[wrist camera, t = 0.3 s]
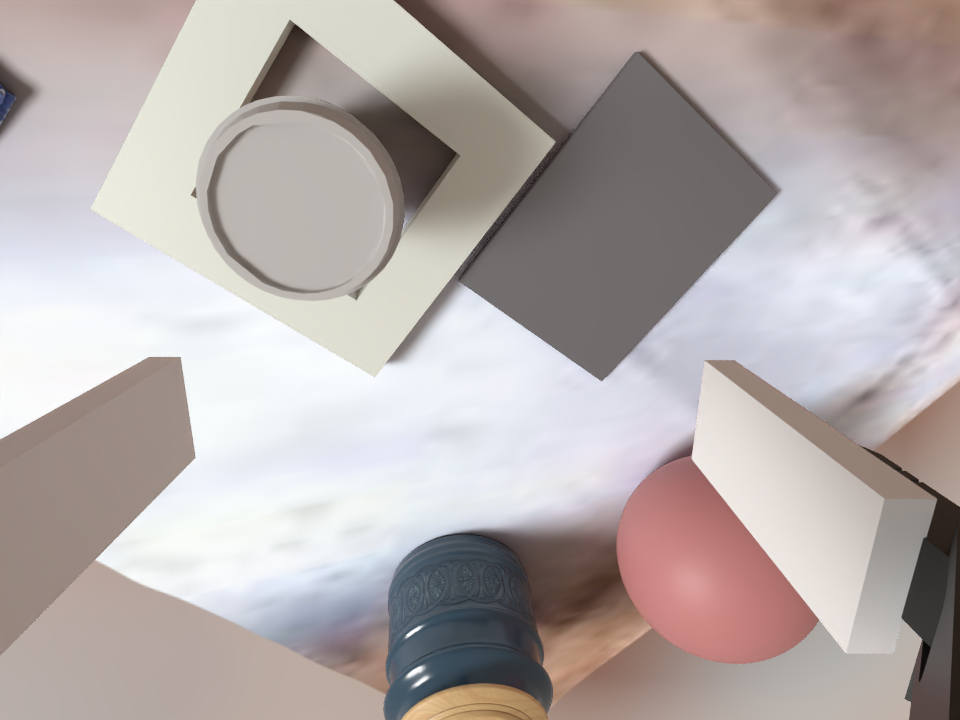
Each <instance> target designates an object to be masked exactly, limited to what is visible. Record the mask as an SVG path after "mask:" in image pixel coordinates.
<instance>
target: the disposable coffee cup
mask: <svg viewBox="0 0 960 720" xmlns="http://www.w3.org/2000/svg"><path fill="white" fill-rule="evenodd" d="M196 196H197V206H198V209H199V213H200V217H201V220H202V223H203V226H204V228H205V231H206V233H207V235H208V237H209V239H210V241H211V243H212V244H213V246H214V248H215V250H216V251H217V253H218V254H219V255H220V256H221V258H222V259H223V260H224V261H225V263H226V264H227V265H228V266H229V267H230V268H231V269H232V270H233V271H234V272H235V273H236V274H237V275H239V276H240V277H242V278H243V279H244V280H246V281H247V282H248V283H250V284H251V285H253V286H255V287H257V288H259V289H261V290H263V291H265V292H268V293H270V294H273V295H276V296H279V297H282V298H288V299H294V300H305V301H318V300H329V299H333V298H337V297H341V296H345V295H347V294H349V293H351V292H354V291H356V290H358V289H360V288H362V287H363V286H365V285H366V284H368V283H369V282H370V281H372V280H373V279H374V278H375V277H376V276H377V275H378V274H379V273H380V272H381V271H382V270H383V269H384V268H385V267H386V265H387V264H388V262H389V261H390V259H391V258H392V256H393V255H394V252H395V250H396V248H397V246H398V243H399V241H400V239H401V233H402V228H403V223H404V217H405V211H404V194H403V190H402V185H401V181H400V177H399V174H398V172H397V170H396V167H395V165H394V163H393V161H392V159H391V157H390V155H389V153H388V152H387V150H386V149H385V148H384V146H383V145H382V144H381V142H380V141H379V140H378V138H377V137H376V136H375V134H374V133H372V132H371V131H370V130H369V129H368V128H367V127H366V126H365V125H363V124H362V123H361V122H360V121H359V120H358V119H357V118H355V117H354V116H353V115H351V114H349V113H347V112H346V111H344V110H342V109H340V108H338V107H337V106H335V105H332V104H330V103H328V102H325V101H322V100H318V99H314V98H308V97H301V96H275V97H270V98H265V99H260V100H257V101H254V102H252V103H249V104H247V105H244V106H243V107H241V108H240V109H238V110H236V111H235V112H233V113H232V114H231V115H229V116H228V117H227V118H226V119H225V120H224V121H223V122H221V123H220V124H219V125H218V126H217V128H216V129H215V131H214V132H213V134H212V135H211V136H210V138H209V139H208V141H207V143H206V145H205V147H204V150H203V152H202V155H201V157H200V159H199V164H198V170H197V177H196Z"/></svg>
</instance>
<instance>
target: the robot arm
mask: <svg viewBox="0 0 960 720" xmlns="http://www.w3.org/2000/svg"><path fill="white" fill-rule="evenodd" d="M195 458H196V457H195V451H194V444H193V437H192V431H191V424H190V417H189V411H188V404H187V397H186V391H185V384H184V377H183V371H182V364H181V357H148V358H147V359H145V360H143V361H141V362H139V363H138V364H136V365H134V366H132V367H130V368H129V369H127V370H125V371H123V372H121V373H120V374H118V375H116V376H114V377H112V378H111V379H109V380H107V381H105V382H103V383H102V384H100V385H98V386H96V387H94V388H93V389H91V390H89V391H87V392H85V393H84V394H82V395H80V396H78V397H76V398H75V399H73V400H71V401H69V402H67V403H66V404H64V405H62V406H60V407H58V408H57V409H55V410H53V411H51V412H49V413H48V414H46V415H44V416H42V417H40V418H39V419H37V420H35V421H33V422H31V423H30V424H28V425H26V426H24V427H22V428H20V429H19V430H17V431H15V432H13V433H11V434H10V435H8V436H6V437H4V438H2V439H1V440H0V655H1V654H2V653H3V652H4V651H5V650H6V649H7V648H8V647H9V646H10V645H11V644H12V643H13V642H14V641H15V640H16V639H17V638H18V637H19V636H20V635H21V634H22V633H23V632H24V631H25V630H26V629H27V628H28V627H29V626H30V625H31V624H32V623H33V622H34V621H35V620H36V619H37V618H38V617H39V616H40V615H41V614H42V613H43V612H44V611H45V610H46V609H47V608H48V607H49V606H50V605H51V604H52V602H54V600H56V598H58V597H59V595H61V594H62V593H63V592H64V591H65V590H66V588H67V587H68V586H69V585H70V584H71V583H72V582H73V581H74V580H75V579H76V578H77V577H78V576H79V575H80V574H81V573H82V572H83V571H84V570H85V569H86V568H87V567H88V566H89V565H90V564H91V563H92V562H93V561H94V560H95V559H96V558H97V557H98V556H99V555H100V554H101V553H102V552H103V551H104V550H105V549H106V548H107V547H108V546H109V545H110V544H111V543H112V542H113V541H114V540H115V539H116V538H117V537H118V536H119V535H120V534H121V533H122V532H123V531H124V530H125V529H126V528H127V527H128V526H129V525H130V524H131V523H132V522H133V521H134V519H135V518H136V517H137V516H138V515H139V514H140V513H141V512H142V511H143V510H144V509H145V508H146V507H147V506H148V505H149V504H150V503H151V502H152V501H153V500H154V499H155V498H156V497H157V496H158V495H159V494H160V493H161V492H162V491H163V490H164V489H165V488H166V487H167V486H168V485H169V484H170V483H171V482H172V481H173V480H174V479H175V478H176V477H177V476H178V475H179V474H180V473H181V472H182V471H183V470H184V469H185V468H186V467H187V466H188V465H189V464H190V463H191V462H192V461H193V460H194V459H195ZM691 459H692V460H693V461H694V463H695V464H696V465H697V466H698V468H699V469H700V470H701V471H702V473H703V474H704V475H705V476H706V478H707V479H708V480H709V481H710V483H711V484H712V485H713V487H714V488H715V489H716V490H717V492H718V493H719V494H720V495H721V497H722V498H723V499H724V500H725V502H726V503H727V504H728V505H729V507H730V508H731V509H732V510H733V512H734V513H735V514H736V515H737V517H738V518H739V519H740V521H741V522H742V523H743V524H744V526H745V527H746V528H747V529H748V531H749V532H750V533H751V534H752V536H753V537H754V538H755V539H756V541H757V542H758V543H759V544H760V546H761V547H762V548H763V549H764V551H765V552H766V553H767V555H768V556H769V557H770V558H771V560H772V561H773V562H774V563H775V565H776V566H777V567H778V568H779V570H780V571H781V572H782V573H783V575H784V576H785V577H786V578H787V580H788V581H789V582H790V583H791V585H792V586H793V587H794V589H795V590H796V591H797V592H798V594H799V595H800V596H801V597H802V599H803V600H804V601H805V602H806V604H807V605H808V606H809V607H810V609H811V610H812V611H813V612H814V614H815V615H816V616H817V617H818V619H819V620H820V621H821V623H822V624H823V625H824V626H825V627H826V629H827V630H828V631H829V632H830V634H831V635H832V636H833V638H834V639H835V640H836V641H837V643H838V644H839V645H840V646H841V648H842V649H843V650H844V651H845V653H894V651H895V648H896V644H897V641H898V637H899V633H900V630H901V626H902V623H903V620H904V621H905V622H906V623H907V624H908V625H909V626H910V627H911V628H912V629H913V630H914V631H915V632H916V633H917V634H918V635H919V636H920V637H921V638H922V643H921V646H920V650H919V653H918V656H917V659H916V663H915V666H914V669H913V673H912V676H911V680H910V683H909V686H908V690H907V693H906V696H905V699H906V700H908V701H910V702H911V709H910V717H909V720H960V507H959V506H957V505H956V504H954V503H953V502H951V501H950V500H948V499H947V498H945V497H944V496H942V495H941V494H939V493H938V492H936V491H935V490H933V489H932V488H930V487H929V486H927V485H926V484H924V483H923V482H919V480H918V479H917V478H915V477H914V476H912V475H911V474H910V473H908V472H907V471H902V468H901V467H899V466H898V465H896V464H895V463H893V462H892V461H890V460H888V459H887V458H885V457H884V456H883V455H881V454H879V453H876V452H874V451H871V450H869V449H867V448H864V447H862V446H860V445H858V444H856V443H855V442H853V441H852V440H850V439H849V438H847V437H846V436H844V435H843V434H841V433H840V432H839V431H837V430H836V429H834V428H833V427H831V426H830V425H828V424H827V423H825V422H824V421H822V420H821V419H820V418H818V417H817V416H815V415H814V414H812V413H811V412H809V411H808V410H806V409H805V408H803V407H802V406H801V405H799V404H798V403H796V402H795V401H793V400H792V399H790V398H789V397H787V396H786V395H784V394H783V393H781V392H780V391H779V390H777V389H776V388H774V387H773V386H771V385H770V384H768V383H767V382H765V381H764V380H762V379H761V378H760V377H758V376H757V375H755V374H754V373H752V372H751V371H749V370H748V369H746V368H745V367H743V366H742V365H741V364H739V363H738V362H736V361H735V360H705V361H704V369H703V376H702V384H701V391H700V399H699V406H698V414H697V421H696V428H695V436H694V443H693V451H692V458H691Z"/></svg>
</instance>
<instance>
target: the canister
mask: <svg viewBox="0 0 960 720" xmlns="http://www.w3.org/2000/svg"><path fill="white" fill-rule="evenodd" d="M388 612H389V617H390V619H389V645H388V656H387V660H386V676H387V680H388V683H389V685H390V688H389V689H388V692H387V694H386V697H385V700H384V717H385V720H548V717H547V713H548V711H549V709H550V706H551V703H552V698H553V687H552V683H551V680H550V677H549V675H548V673H547V672H546V670H545V669H544V668H543V667H542V665H543V660H544V649H543V644H542V641H541V639H540V637H539V635H538V631H537V626H536V622H535V617H534V613H533V609H532V604H531V592H530V586H529V582H528V578H527V575H526V573H525V571H524V569H523V567H522V565H521V563H520V561H519V559H518V558H517V557H516V555H515V554H514V553H513V552H512V551H511V550H510V549H509V548H507V547H506V546H504V545H503V544H501V543H499V542H497V541H495V540H492V539H490V538H486V537H482V536H476V535H452V536H446V537H442V538H438V539H435V540H432V541H430V542H427V543H425V544H423V545H421V546H419V547H418V548H416V549H415V550H413V551H412V552H411V553H409V554H408V555H407V556H406V557H405V558H404V559H403V560H402V562H401V563H400V564H399V566H398V567H397V569H396V571H395V573H394V576H393V580H392V583H391V586H390V589H389V596H388Z"/></svg>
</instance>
